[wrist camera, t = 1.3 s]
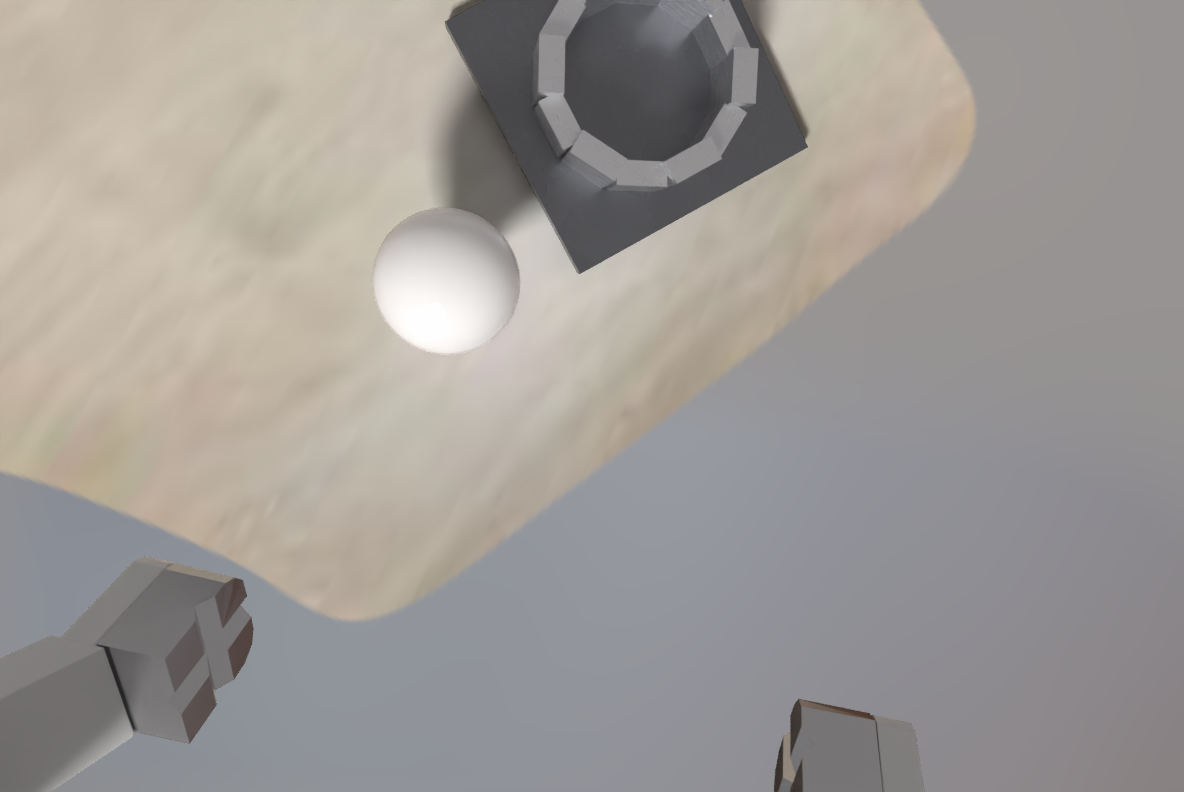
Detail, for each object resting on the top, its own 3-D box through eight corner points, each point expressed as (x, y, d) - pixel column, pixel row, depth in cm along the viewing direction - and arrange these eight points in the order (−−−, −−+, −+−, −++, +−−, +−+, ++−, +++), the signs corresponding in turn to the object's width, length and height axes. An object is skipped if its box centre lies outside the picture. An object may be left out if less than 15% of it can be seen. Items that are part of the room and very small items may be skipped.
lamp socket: (445, 27, 42) (441, -4, 37) (685, -102, 43) (713, -149, 38) (577, 273, 45) (590, 275, 40) (800, 149, 46) (840, 136, 41)
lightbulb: (535, 264, 45) (555, 265, 34) (467, 361, 45) (465, 393, 34) (435, 191, 43) (422, 169, 32) (366, 292, 44) (331, 303, 33)
